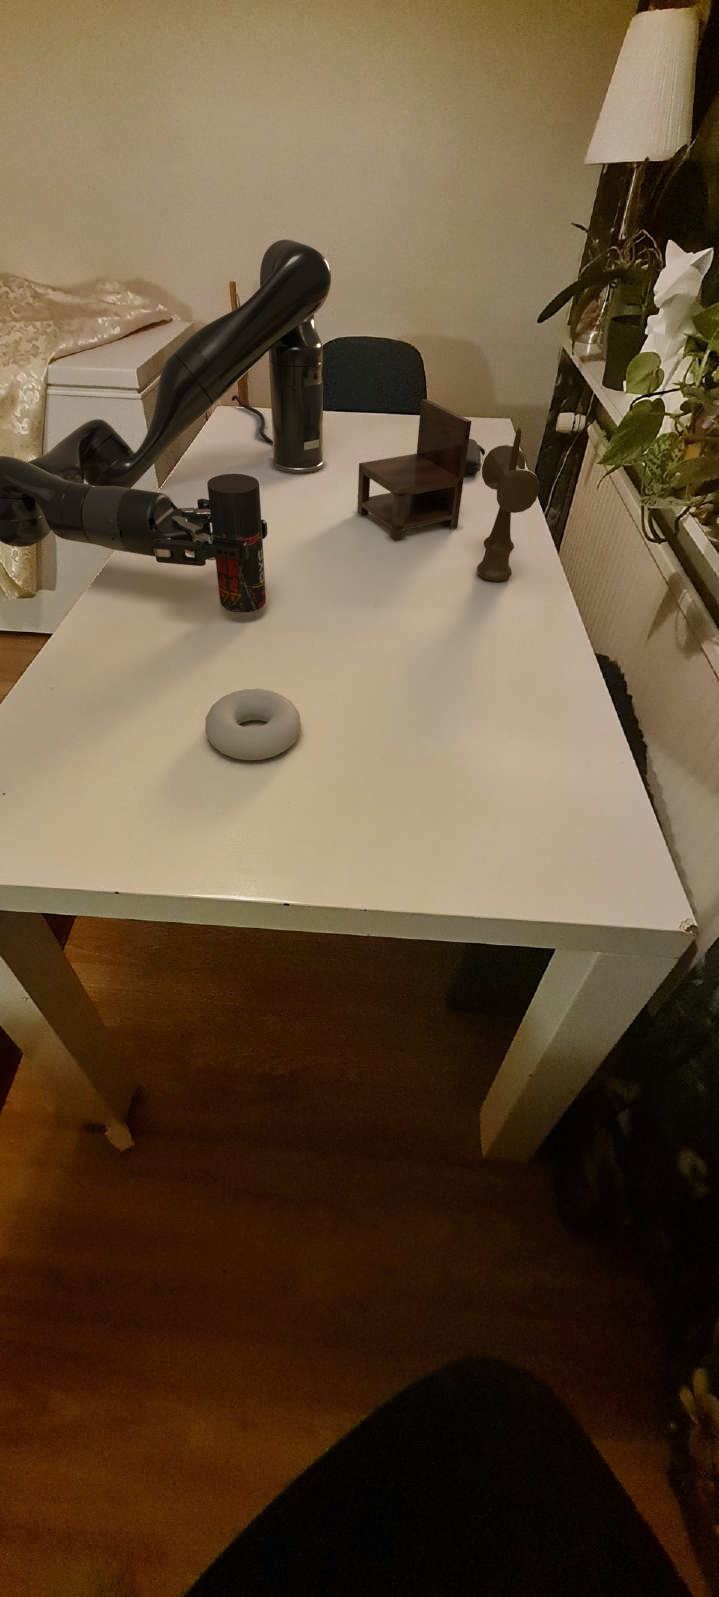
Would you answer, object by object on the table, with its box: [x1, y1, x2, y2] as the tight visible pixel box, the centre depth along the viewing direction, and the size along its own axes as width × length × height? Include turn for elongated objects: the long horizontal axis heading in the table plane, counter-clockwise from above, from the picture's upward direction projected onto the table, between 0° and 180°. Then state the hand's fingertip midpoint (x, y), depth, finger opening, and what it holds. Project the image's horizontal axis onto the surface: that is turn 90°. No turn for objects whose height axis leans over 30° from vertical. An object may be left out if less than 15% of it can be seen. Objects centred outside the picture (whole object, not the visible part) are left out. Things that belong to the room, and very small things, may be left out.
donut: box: [204, 688, 302, 761], centre depth 74 cm, size 10×4×10 cm
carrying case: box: [464, 438, 486, 477], centre depth 135 cm, size 11×3×15 cm
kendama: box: [476, 427, 540, 582], centre depth 97 cm, size 6×10×20 cm, turn 4°
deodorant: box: [206, 473, 267, 614], centre depth 87 cm, size 6×6×15 cm
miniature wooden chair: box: [357, 398, 472, 542], centre depth 111 cm, size 12×12×16 cm
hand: (256, 540), depth 86 cm, fingers closed on deodorant, 6 cm apart
